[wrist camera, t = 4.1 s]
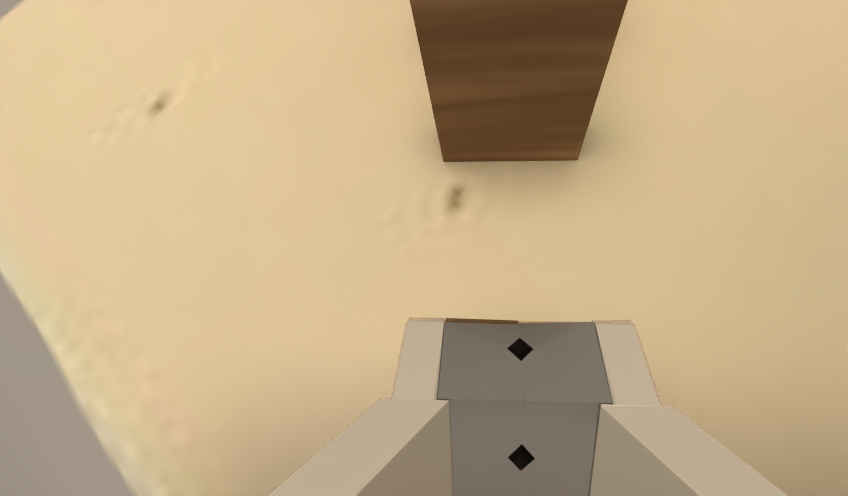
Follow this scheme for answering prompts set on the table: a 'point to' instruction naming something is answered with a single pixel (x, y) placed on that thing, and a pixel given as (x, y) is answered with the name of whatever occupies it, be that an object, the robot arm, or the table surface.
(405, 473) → the robot arm
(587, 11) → the domino
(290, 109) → the table surface
